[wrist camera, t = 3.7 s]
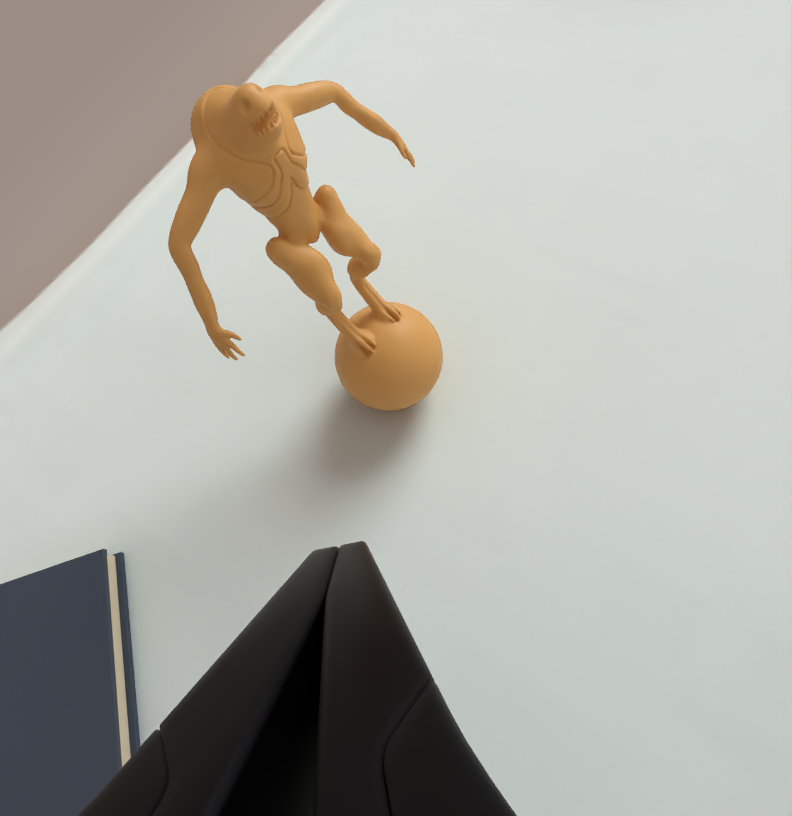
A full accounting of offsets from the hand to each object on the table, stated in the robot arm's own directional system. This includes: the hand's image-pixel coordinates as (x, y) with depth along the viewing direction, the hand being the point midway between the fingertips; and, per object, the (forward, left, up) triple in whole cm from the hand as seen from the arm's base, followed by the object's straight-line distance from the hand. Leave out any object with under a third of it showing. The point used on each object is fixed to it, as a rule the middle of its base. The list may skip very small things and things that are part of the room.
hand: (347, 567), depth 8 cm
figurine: (+9, -1, -11) cm, 14 cm away
